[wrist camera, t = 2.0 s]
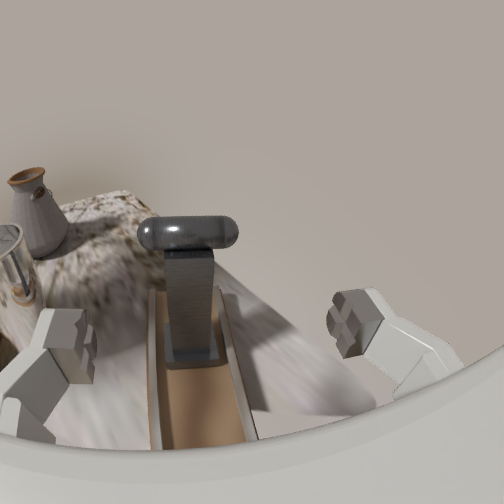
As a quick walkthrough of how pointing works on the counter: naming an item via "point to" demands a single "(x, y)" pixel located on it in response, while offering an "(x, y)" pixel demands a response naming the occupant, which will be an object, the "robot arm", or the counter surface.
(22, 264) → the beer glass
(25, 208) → the coffee pot
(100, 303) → the counter surface
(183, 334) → the handle
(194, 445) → the track
